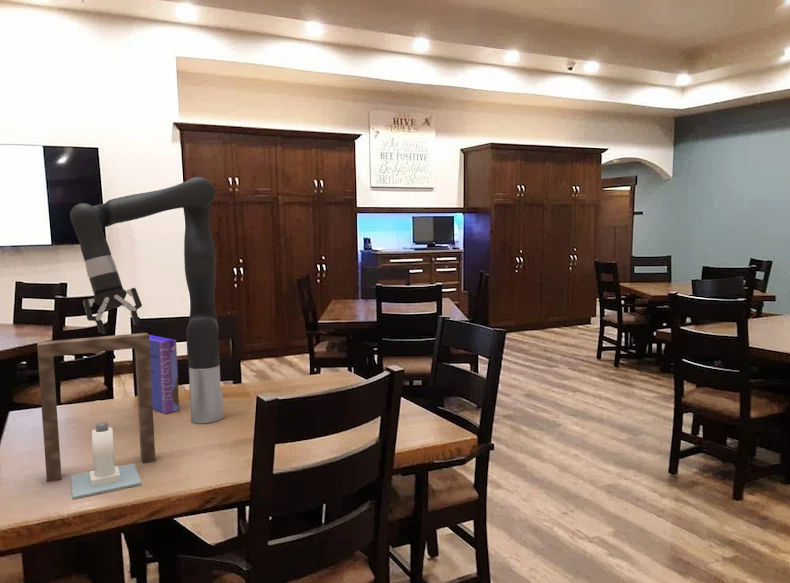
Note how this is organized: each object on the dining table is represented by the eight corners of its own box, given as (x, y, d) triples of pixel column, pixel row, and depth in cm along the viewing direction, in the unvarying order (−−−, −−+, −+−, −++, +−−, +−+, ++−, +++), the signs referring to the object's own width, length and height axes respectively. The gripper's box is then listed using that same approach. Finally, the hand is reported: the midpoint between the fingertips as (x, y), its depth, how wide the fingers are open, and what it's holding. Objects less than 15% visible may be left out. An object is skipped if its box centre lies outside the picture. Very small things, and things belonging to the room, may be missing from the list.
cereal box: (179, 410, 189) (176, 339, 186) (165, 414, 185) (162, 341, 182) (151, 401, 199) (148, 333, 197) (138, 404, 196) (134, 335, 193)
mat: (134, 465, 144) (134, 463, 144) (141, 484, 133) (141, 482, 133) (71, 478, 137) (70, 475, 137) (72, 499, 126) (72, 497, 126)
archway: (153, 455, 151) (146, 332, 147) (155, 460, 147) (149, 335, 144) (46, 475, 138) (37, 342, 135) (46, 482, 135) (37, 345, 131)
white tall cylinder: (117, 471, 139) (114, 418, 138) (120, 480, 134) (117, 425, 133) (90, 477, 136) (86, 422, 135) (91, 486, 131) (88, 429, 129)
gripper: (76, 278, 154) (94, 336, 155) (131, 266, 162) (148, 320, 163) (74, 281, 160) (92, 336, 161) (127, 269, 168) (144, 322, 169)
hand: (120, 328), depth 162 cm, fingers open, 8 cm apart
